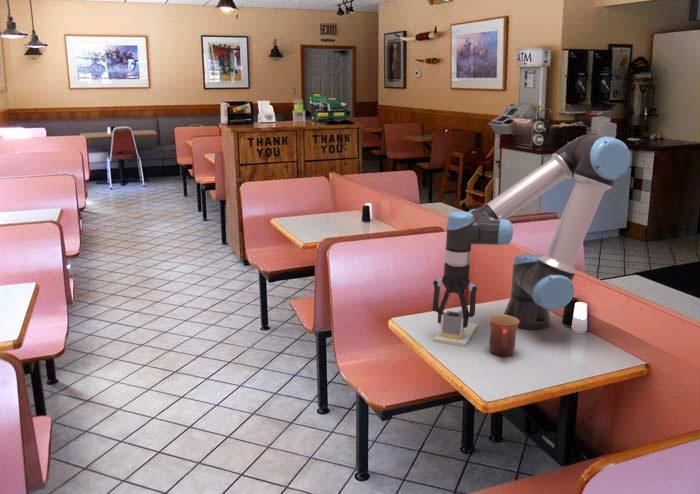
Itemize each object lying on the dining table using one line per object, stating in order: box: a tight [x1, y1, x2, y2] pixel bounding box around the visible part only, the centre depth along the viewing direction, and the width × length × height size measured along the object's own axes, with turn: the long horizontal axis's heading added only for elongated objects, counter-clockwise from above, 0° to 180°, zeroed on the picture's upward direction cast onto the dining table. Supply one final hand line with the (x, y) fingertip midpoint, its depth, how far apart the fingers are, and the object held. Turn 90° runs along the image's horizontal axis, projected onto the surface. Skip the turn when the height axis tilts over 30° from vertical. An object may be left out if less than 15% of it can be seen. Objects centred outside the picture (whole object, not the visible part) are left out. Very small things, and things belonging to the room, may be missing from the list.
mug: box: [488, 314, 520, 357], centre depth 186 cm, size 12×9×10 cm
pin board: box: [432, 310, 479, 348], centre depth 201 cm, size 10×18×6 cm, turn 157°
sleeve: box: [442, 310, 463, 340], centre depth 197 cm, size 5×5×7 cm
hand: (451, 334), depth 197 cm, fingers open, 5 cm apart
